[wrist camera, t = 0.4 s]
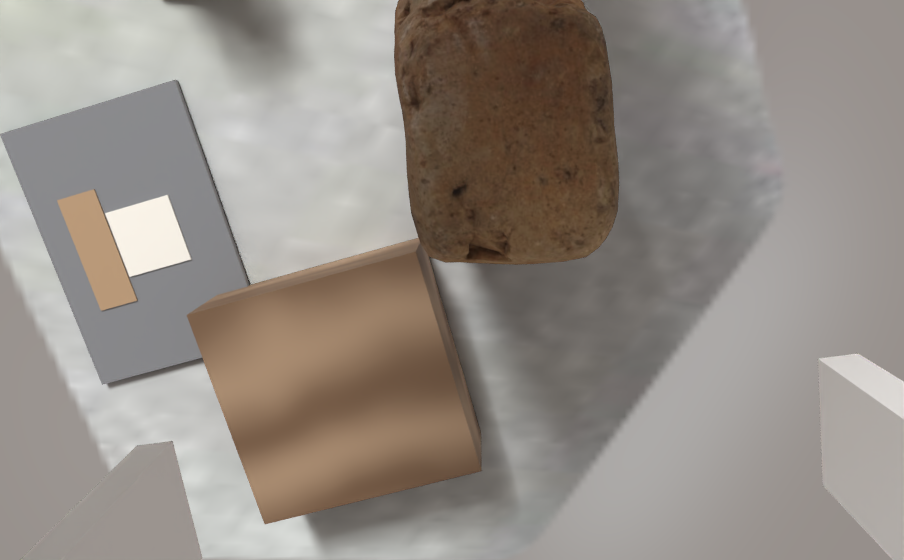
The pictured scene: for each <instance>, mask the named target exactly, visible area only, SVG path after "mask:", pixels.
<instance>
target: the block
mask: <svg viewBox="0 0 904 560" xmlns="http://www.w3.org/2000/svg"><path fill="white" fill-rule="evenodd" d="M394 33H395V49H394V61H395V76H396V82H397V88H398V94H399V99H400V104H401V108H402V114H403V121H404V129H405V138H406V162H407V179H408V189H409V198H410V206H411V214H412V217H413V220H414V224H415V227H416V230H417V234H418V237H419V240H420V244H421V245H422V247H423V248H424V250H425V251H426V253H427V254H428V256H429V257H432V258H435V259H437V260H440V261H443V262H467V263H489V264H514V265H518V264H538V263H552V262H564V261H569V260H574V259H579V258H584V257H587V256H588V255H589V254H591V253H592V252H594V251H595V250H596V249H598V248H599V247H600V245H601V244H602V243H603V242H604V240H605V239H606V238H607V236H608V234H609V232H610V230H611V228H612V227H613V224H614V220H615V217H616V214H617V211H618V193H619V171H618V155H617V146H616V138H615V129H614V111H613V93H612V81H611V74H610V67H609V61H608V55H607V49H606V42H605V38H604V35H603V31H602V28H601V26H600V24H599V22H598V20H597V18H596V17H595V16H594V15H592V14H591V13H589V12H588V11H587V9H585V7H584V3H583V2H582V1H581V0H399V1H398V4H397V7H396V10H395V30H394Z"/></svg>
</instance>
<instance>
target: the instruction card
mask: <svg viewBox="0 0 904 560" xmlns="http://www.w3.org/2000/svg"><path fill="white" fill-rule="evenodd" d="M0 136H1V138H2V140H3V143H4V145H5V148H6V150H7V153H8V155H9V158H10V160H11V162H12V165H13V167H14V170H15V172H16V175H17V177H18V180H19V182H20V185H21V187H22V189H23V192H24V194H25V197H26V199H27V202H28V204H29V207H30V209H31V211H32V214H33V216H34V219H35V221H36V224H37V226H38V229H39V231H40V233H41V236H42V238H43V241H44V243H45V246H46V248H47V251H48V253H49V255H50V258H51V260H52V263H53V265H54V268H55V270H56V273H57V275H58V278H59V280H60V282H61V285H62V287H63V290H64V292H65V295H66V297H67V300H68V302H69V304H70V307H71V309H72V312H73V314H74V317H75V319H76V322H77V324H78V326H79V329H80V331H81V334H82V336H83V339H84V341H85V344H86V346H87V348H88V351H89V353H90V356H91V358H92V361H93V363H94V366H95V368H96V370H97V373H98V375H99V378H100V380H101V383H102V385H103V384H106V383H110V382H114V381H118V380H121V379H125V378H129V377H132V376H136V375H140V374H143V373H147V372H151V371H154V370H158V369H162V368H166V367H169V366H173V365H177V364H180V363H184V362H188V361H191V360H195V359H199V358H202V355H201V353H200V350H199V347H198V345H197V342H196V339H195V337H194V334H193V331H192V329H191V326H190V323H189V321H188V318H187V314H189V313H190V312H192V311H193V310H195V309H196V308H198V307H200V306H201V305H203V304H204V303H206V302H207V301H209V300H210V299H212V298H213V297H215V296H216V295H219V294H223V293H226V292H230V291H233V290H237V289H241V288H244V287H248V286H249V285H250V284H249V282H248V279H247V276H246V273H245V270H244V267H243V265H242V262H241V259H240V256H239V253H238V250H237V247H236V245H235V242H234V239H233V236H232V233H231V230H230V228H229V225H228V222H227V219H226V216H225V213H224V211H223V208H222V205H221V202H220V199H219V196H218V194H217V191H216V188H215V185H214V182H213V179H212V177H211V174H210V171H209V168H208V165H207V162H206V160H205V157H204V154H203V151H202V148H201V145H200V143H199V140H198V137H197V134H196V131H195V128H194V126H193V123H192V120H191V117H190V114H189V111H188V109H187V106H186V103H185V100H184V97H183V94H182V92H181V89H180V86H179V83H178V80H173V81H170V82H166V83H163V84H160V85H157V86H154V87H150V88H147V89H144V90H141V91H137V92H134V93H131V94H128V95H125V96H121V97H118V98H115V99H112V100H109V101H105V102H102V103H99V104H96V105H92V106H89V107H86V108H83V109H80V110H76V111H73V112H70V113H67V114H63V115H60V116H57V117H54V118H51V119H47V120H44V121H41V122H38V123H34V124H31V125H28V126H25V127H22V128H18V129H15V130H12V131H9V132H5V133H2V134H0Z"/></svg>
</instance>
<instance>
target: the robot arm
mask: <svg viewBox="0 0 904 560" xmlns="http://www.w3.org/2000/svg"><path fill="white" fill-rule="evenodd" d="M818 377H819V402H820V429H821V452H822V453H821V455H822V479H823V480H822V481H823V486H824V487H825V488H826V489H827V491H828V492H829V493H830V494H831V495H832V496H833V497H834V498H835V499H836V500H837V501H838V502H839V503H840V504H841V505H842V507H843V508H844V509H846V511H847V512H848V513H849V514H850V515H851V516H852V517H853V518H854V519H855V520H856V521H857V522H858V523H859V524H860V526H861V527H862V528H863V529H864V530H865V531H866V532H867V533H868V534H869V535H870V536H871V537H872V538H873V539H874V540H875V541H876V543H877V544H878V545H879V546H880V547H881V548H882V549H883V550H884V551H885V552H886V553H887V554H888V555H889V556H890V557H891V559H893V560H904V382H903V381H902V380H900V379H898V378H897V377H895V376H894V375H892V374H890V373H889V372H887V371H885V370H884V369H882V368H881V367H879V366H877V365H876V364H874V363H872V362H871V361H869V360H868V359H866V358H864V357H863V356H861V355H860V354H850V355H842V356H834V357H826V358H818ZM201 559H202V554H201V551H200V547H199V543H198V539H197V535H196V531H195V527H194V523H193V519H192V515H191V512H190V508H189V504H188V500H187V496H186V492H185V488H184V484H183V480H182V477H181V473H180V469H179V465H178V461H177V457H176V453H175V449H174V445H173V441H169V442H162V443H154V444H146V445H138V446H136V447H135V448H134V449H133V450H132V451H131V452H130V453H129V454H128V455H127V456H126V457H125V458H124V459H123V460H122V461H121V462H120V463H119V464H118V465H117V466H116V467H115V468H114V469H113V470H112V471H111V472H109V473H108V474H107V475H106V476H105V477H104V478H103V479H102V480H101V481H100V482H99V483H98V484H97V485H96V486H95V487H94V488H93V489H92V490H91V491H90V492H89V493H88V494H87V495H86V496H85V497H84V498H83V499H82V500H81V501H80V502H79V503H78V504H77V505H76V506H75V507H74V508H73V509H72V510H71V511H70V512H68V513H67V514H66V515H65V516H64V517H63V518H62V519H61V520H60V521H59V522H58V523H57V524H56V525H55V526H54V527H53V528H52V529H51V530H50V531H49V532H48V533H47V534H46V535H45V536H44V537H43V538H42V539H41V540H40V541H39V542H38V543H37V544H36V545H35V546H34V547H33V548H31V549H30V550H29V551H28V552H27V553H26V554H25V555H24V556H23V557H22V558H21V559H20V560H201Z"/></svg>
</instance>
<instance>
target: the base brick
mask: <svg viewBox="0 0 904 560" xmlns="http://www.w3.org/2000/svg"><path fill="white" fill-rule="evenodd" d="M187 318H188V321H189V323H190V326H191V329H192V331H193V334H194V337H195V339H196V342H197V345H198V347H199V350H200V353H201V355H202V358H203V361H204V363H205V366H206V369H207V371H208V374H209V377H210V379H211V382H212V385H213V387H214V390H215V393H216V395H217V398H218V401H219V403H220V406H221V409H222V411H223V414H224V417H225V419H226V422H227V425H228V427H229V430H230V433H231V435H232V438H233V441H234V443H235V446H236V449H237V451H238V454H239V457H240V459H241V462H242V465H243V467H244V470H245V473H246V475H247V478H248V481H249V483H250V486H251V489H252V491H253V494H254V497H255V499H256V502H257V505H258V507H259V510H260V513H261V515H262V518H263V521H264V523H265V524H268V523H272V522H276V521H280V520H284V519H288V518H292V517H297V516H301V515H305V514H309V513H313V512H317V511H321V510H325V509H329V508H333V507H337V506H341V505H345V504H349V503H354V502H358V501H362V500H366V499H370V498H374V497H378V496H382V495H386V494H390V493H394V492H398V491H402V490H406V489H411V488H415V487H419V486H423V485H427V484H431V483H435V482H439V481H443V480H447V479H451V478H455V477H459V476H463V475H467V474H472V473H476V472H480V471H482V468H481V431H480V428H479V425H478V421H477V418H476V415H475V411H474V408H473V404H472V401H471V398H470V394H469V391H468V388H467V384H466V381H465V378H464V374H463V371H462V367H461V364H460V361H459V357H458V354H457V351H456V347H455V344H454V341H453V337H452V334H451V330H450V327H449V324H448V320H447V317H446V314H445V310H444V307H443V303H442V300H441V297H440V293H439V290H438V287H437V283H436V280H435V277H434V273H433V270H432V266H431V263H430V260H429V256H428V254H427V253H426V251H425V250H424V248H423V247H422V245H421V244H420V240H419V238H416V239H413V240H409V241H406V242H402V243H399V244H395V245H391V246H388V247H384V248H381V249H377V250H373V251H370V252H366V253H363V254H359V255H356V256H352V257H348V258H345V259H341V260H338V261H334V262H330V263H327V264H323V265H320V266H316V267H313V268H309V269H305V270H302V271H298V272H295V273H291V274H287V275H284V276H280V277H277V278H273V279H270V280H266V281H262V282H259V283H255V284H252V285H249V286H248V287H244V288H241V289H237V290H233V291H230V292H226V293H223V294H219V295H216V296H215V297H213V298H212V299H210V300H209V301H207V302H206V303H204V304H203V305H201V306H200V307H198V308H196V309H195V310H193V311H192V312H190V313H189V314H187Z"/></svg>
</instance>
